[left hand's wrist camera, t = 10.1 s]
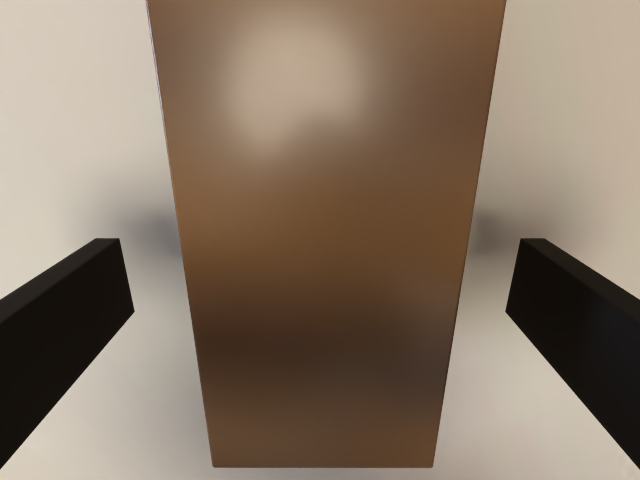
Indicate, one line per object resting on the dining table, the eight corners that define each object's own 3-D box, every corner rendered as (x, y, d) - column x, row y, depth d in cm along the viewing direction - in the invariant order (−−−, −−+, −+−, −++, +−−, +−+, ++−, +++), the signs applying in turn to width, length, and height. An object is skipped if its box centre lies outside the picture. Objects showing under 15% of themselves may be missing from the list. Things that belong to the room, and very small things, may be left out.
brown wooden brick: (218, -297, 10) (-50, -1330, 3) (429, -297, 10) (718, -1324, 3) (258, 307, 17) (211, 468, 10) (384, 307, 17) (433, 469, 10)
